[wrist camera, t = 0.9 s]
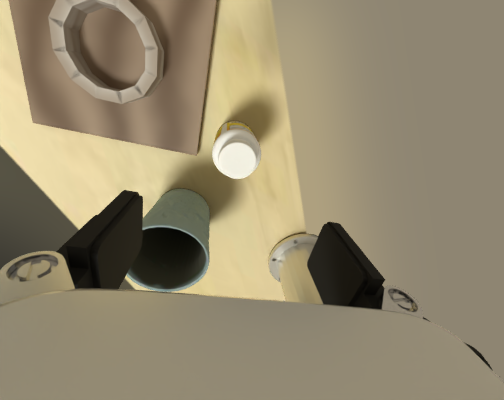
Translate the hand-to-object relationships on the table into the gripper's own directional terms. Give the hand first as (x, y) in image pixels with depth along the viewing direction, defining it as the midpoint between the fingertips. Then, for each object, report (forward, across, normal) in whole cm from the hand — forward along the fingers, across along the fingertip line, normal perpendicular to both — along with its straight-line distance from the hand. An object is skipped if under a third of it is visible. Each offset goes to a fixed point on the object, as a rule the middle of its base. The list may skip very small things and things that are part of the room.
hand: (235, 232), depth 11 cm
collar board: (+23, +14, -7) cm, 28 cm away
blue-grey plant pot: (+23, +6, +13) cm, 27 cm away
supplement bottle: (+23, 0, 0) cm, 23 cm away
